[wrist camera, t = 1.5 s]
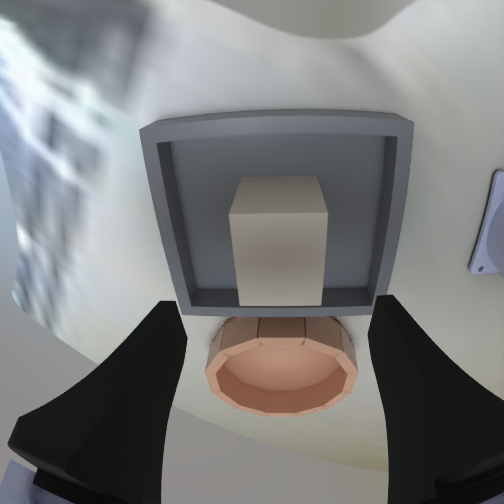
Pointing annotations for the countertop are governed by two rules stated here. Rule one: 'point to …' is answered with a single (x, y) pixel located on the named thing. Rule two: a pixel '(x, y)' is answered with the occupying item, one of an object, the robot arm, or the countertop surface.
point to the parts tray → (279, 164)
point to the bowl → (281, 364)
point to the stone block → (279, 240)
